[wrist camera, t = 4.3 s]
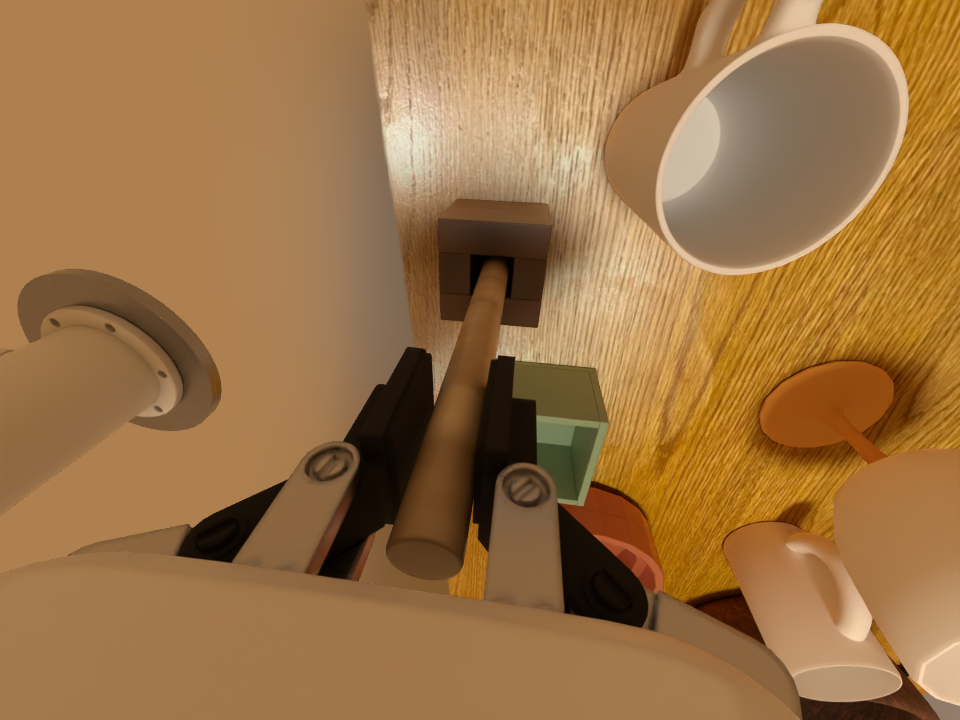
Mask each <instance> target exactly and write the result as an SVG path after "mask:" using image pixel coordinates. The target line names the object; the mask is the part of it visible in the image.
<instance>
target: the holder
mask: <svg viewBox="0 0 960 720" xmlns="http://www.w3.org/2000/svg"><path fill="white" fill-rule="evenodd" d="M551 230H552V224H551V219H550V214H549V209H548V204H537V203H520V202H503V201H486V200H469V199H457V200H456V201H455V202H454V203H453V204H452V205H451V206H450V207H449V208H448V209H447V210H446V211H445V212H444V213H443V214H442V215H441V216H440V217H439V218H438V244H439V280H440V312H441V319H442V320H452V321H464V319H465V316H466V313H467V310H468V307H469V304H470V301H471V299H472V296H473V293H474V290H475V287H476V284H477V281H478V278H479V275H480V272H481V269H482V267H483V264H484V263H481V261H482V255H489V256H503V257H514V265H510V267H509V273H508V280H507V286H506V293H505V299H504V306H503V312H502V318H501V325H510V326H522V327H533V328H537V327H538V323H539V316H540V309H541V300H542V295H543V287H544V280H545V273H546V266H547V258H548V251H549V244H550V237H551Z"/></svg>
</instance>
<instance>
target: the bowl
mask: <svg viewBox="0 0 960 720" xmlns="http://www.w3.org/2000/svg"><path fill="white" fill-rule="evenodd" d="M559 504H560V505H561V506H562V507H564V508H565V509H566V510H567V511H568V512H569V513H570V514H571V515H572V516H573V517H574V518H575V519H576V520H578V521H579V522H580V523H581V524H582V525H583V526H584V527H585V528H586V529H587V530H588V531H589V532H590V533H592V534H593V535H594V536H595V537H596V538H597V539H598V540H599V541H600V542H601V543H602V544H603V545H604V546H606V547H607V548H608V549H609V550H610V551H611V552H612V553H613V554H614V555H615V556H616V557H617V558H618V559H619V560H621V561H622V562H623V563H624V564H625V565H626V566H627V567H628V568H629V569H630V570H631V571H632V572H633V573H634V574H635V575H636V577H637V578H638V579H639V580H640V582H641V584H642V586H643V587H645V588H647V589H649V590H651V591H653V592H655V593H656V594H657V592H658V591H659V590H661V591H663V589H664V576H663V570H662V567H661V563H660V560H659V557H658V553H657V550H656V546H655V543H654V540H653V536H652V533H651V529H650V526H649V523H648V522H647V520H646V519H645V517H644V516H643V514H642V513H641V511H640V510H639V509H638V508H637V507H635V506H634V505H632V504H631V503H630V502H628V501H627V500H625V499H624V498H622V497H620V496H618V495H615V494H612V493H609V492H606V491H603V490H600V489H598V488H593V487H589V490H588V493H587V496H586V499H585V502H584V506H578V505H570V504H562V503H559Z"/></svg>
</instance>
